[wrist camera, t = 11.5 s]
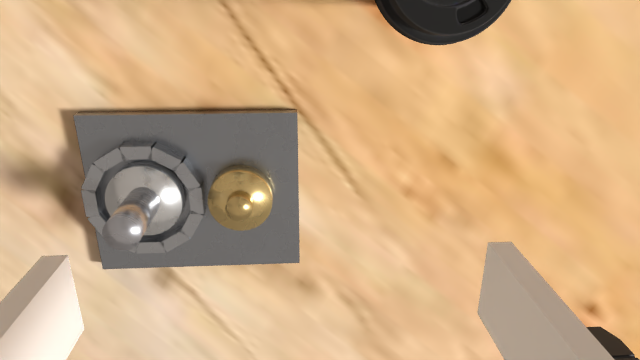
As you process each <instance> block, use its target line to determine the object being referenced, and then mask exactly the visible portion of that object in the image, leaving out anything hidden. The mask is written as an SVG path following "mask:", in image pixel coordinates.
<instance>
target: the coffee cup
mask: <svg viewBox="0 0 640 360" xmlns="http://www.w3.org/2000/svg"><path fill="white" fill-rule="evenodd" d="M375 2H376V4H377V6H378V8H379V10H380V12H381V14H382V15H383V17H384V18H385V19H386V20H387V22H388V23H389V24H390V25H391V26H392V27H393V28H394V29H395V30H397V31H398V32H399V33H401V34H402V35H404V36H405V37H407V38H409V39H411V40H414V41H416V42H419V43H424V44H429V45H447V44H453V43H456V42H460V41H463V40H466V39H469V38H471V37H473V36H475V35H477V34H479V33H481V32H482V31H484V30H485V29H486V28H488V27H489V26H490V25H491V24H493V23H494V22H495V21H496V20H497V19H498V18H499V17H500V15H501V14H502V13H503V12H504V11H505V9H506V8H507V6H508V5H509V3H510V2H511V0H375Z"/></svg>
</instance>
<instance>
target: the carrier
mask: <svg viewBox="0 0 640 360" xmlns="http://www.w3.org/2000/svg"><path fill="white" fill-rule="evenodd" d="M73 116H74V121H75V126H76V131H77V137H78V142H79V147H80V152H81V157H82V163H83V168H84V173H85V178H86V179H85V181H84V183H83V185H82V188H81V189H82V190H81V193H82V198H83V203H84V208H85V213H86V217H88V220H89V221H90V223H91V224H92V225H93V226H94V227H95V230H96V235H97V241H98V246H99V251H100V256H101V261H102V267H103V269H121V268H152V267H184V266H215V265H246V264H277V263H299V199H298V134H297V109H294V110H216V111H138V112H78V113H77V114H75V115H73ZM141 161H148V162H154V163H157V164H160V165H162V166H164V167H166V168H168V169H169V170H171V171H172V172H173V173H174V174H175V175H176V176H177V177H178V179H179V180H180V182H181V184H182V186H183V189H184V193H185V203H184V207H183V210H182V212H181V214H180V216H179V218H178V220H177V221H176V223H175V224H174V225H173V226H172V227H171V228H169V229H168V230H166V231H164V232H162V233H160V234H156V235H143V236H142V238H141V240H140V241H139V243H138V244H137V246H136V247H134V248H133V249H130V250H126V251H121V250H116V249H114V248H112V247H110V246H109V245H108V244H107V243H106V242H105V240H104V238H103V235H102V229H103V226H104V225H105V223H106V222H107V221H108V220H109V218H110V217H111V216H110V214H109V213H108V210H107V208H106V204H105V191H106V188H107V185H108V183H109V182H110V180H111V179H112V178H113V177H114V176H115V175H116V173H117V172H118V171H119V170H120V169H122V168H123V167H125V166H127V165H128V164H131V163H135V162H141Z"/></svg>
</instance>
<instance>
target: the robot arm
mask: <svg viewBox="0 0 640 360" xmlns="http://www.w3.org/2000/svg"><path fill="white" fill-rule="evenodd" d="M478 315H479V317H480V319H481V320H482V322H483V324H484V325H485V327H486V329H487V331H488V332H489V334H490V336H491V337H492V339H493V341H494V343H495V344H496V346H497V348H498V349H499V351H500V353H501V355H502V356H503V358H504V360H639V359H638V358H635V356H634V354H633V353H632V352H631V351H630V349H629V348H628V347H627V346H626V345H625V344H624V343H623V342H622V341H621V340H620V339H618V338H617V337H615V336H614V335H612V334H611V333H609V332H608V331H606V330H605V329H603V328H601V327H585V325H584V324H583V323H582V322H581V321H580V320H579V319H578V317H577V316H576V315H575V314H574V313H573V312H572V311H571V309H570V308H569V307H568V306H567V305H566V304H565V303H564V301H563V300H562V299H561V298H560V297H559V296H558V295H557V293H556V292H555V291H554V290H553V289H552V288H551V287H550V285H549V284H548V283H547V282H546V281H545V280H544V279H543V277H542V276H541V275H540V274H539V273H538V272H537V271H536V270H535V268H534V267H533V266H532V265H531V264H530V263H529V262H528V260H527V259H526V258H525V257H524V256H523V255H522V254H521V252H520V251H519V250H518V249H517V248H516V247H515V246H514V244H513V243H512V242H489V243H488V246H487V253H486V260H485V266H484V273H483V279H482V286H481V293H480V299H479V306H478ZM83 330H84V325H83V321H82V316H81V312H80V307H79V303H78V298H77V294H76V289H75V284H74V280H73V275H72V271H71V266H70V262H69V257H68V255H60V256H42V257H41V258H40V259H39V260H38V261H37V262H36V263H35V264H34V266H33V267H32V268H31V269H30V270H29V271H28V272H27V273H26V274H25V276H24V277H23V278H22V279H21V280H20V281H19V282H18V283H17V284H16V286H15V287H14V288H13V289H12V290H11V291H10V292H9V293H8V294H7V296H6V297H5V298H4V299H3V300H2V301H1V302H0V360H66V359H67V357H68V355H69V354H70V352H71V350H72V349H73V347H74V345H75V344H76V342H77V340H78V338H79V337H80V335H81V333H82V332H83Z"/></svg>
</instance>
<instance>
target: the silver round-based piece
mask: <svg viewBox="0 0 640 360" xmlns="http://www.w3.org/2000/svg"><path fill="white" fill-rule="evenodd" d="M184 203H185V193H184V189H183V186H182V184H181V182H180V180H179V179H178V177H177V176H176V175H175V174H174V173H173V172H172V171H171V170H169V169H168V168H166V167H164V166H162V165H160V164H157V163H154V162H148V161H141V162H135V163H131V164H128V165H127V166H125V167H123V168H122V169H120V170H119V171H118V172H117V173H116V175H115V176H114V177H113V178H112V179H111V180H110V182H109V183H108V185H107V188H106V191H105V204H106V208H107V210H108V213H109V214H110V216H111V217H110V218H109V220H108V221H107V222H106V223H105V225H104V226H103V229H102V235H103V238H104V240H105V242H106V243H107V244H108V245H109V246H110V247H112V248H114V249H116V250H121V251H126V250H130V249H133V248H134V247H136V246H137V244H138V243H139V241H140V240H141V238H142V236H143V235H156V234H160V233H162V232H164V231H166V230H168V229H169V228H171V227H172V226H173V225H174V224H175V223H176V221H177V220H178V218H179V216H180V214H181V212H182V210H183V207H184Z"/></svg>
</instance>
